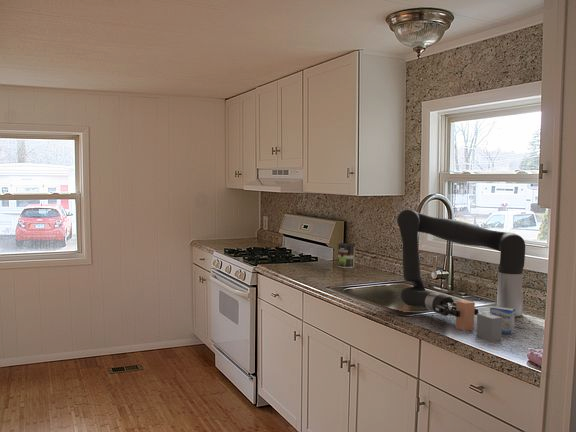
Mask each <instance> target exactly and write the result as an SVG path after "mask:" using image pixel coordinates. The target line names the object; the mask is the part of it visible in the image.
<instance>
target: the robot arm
mask: <svg viewBox="0 0 576 432" xmlns="http://www.w3.org/2000/svg"><path fill="white" fill-rule="evenodd" d="M396 222H397V226H398V228H399V232H400V235H401V243H402V271H403V279H404V280H405V281H406V282H409V283H411V284H412V286H410V287H405V288H403V289H402V290H401V292H400V299H401V301H402V302H403V303H404V304H405V305H407V306H411V307H417V308H418V307H420V308H423V309H426V310H429V311H431V312H433V313H436V314H438V315H441V316H444V317H447V316H452V317H455V318H456V317H460V311H458V310H456V305H457V301H454V299H453V298H452V297H451V296H449V295H445V294H441V293H438V292H434V291H433V292H432V291H429V290H426V288H425V284H424V281H423V279H422V275H421V261H420V254H419V242H418V241H419V240H418V239H419V233H421V234H422V233H423V234H427V235H431V236H434V237H436V238H439V239H442V240H445V241H448V242H451V243H454V244H459V245H465V246H474V247H485V248H488V249H491V250H494V251H498V252H500V256H499V259H500V260H499V264H498V270H497V271H498V273H497V292H496V293H497V294H496V297H497V298H496V306H498V307H505V308H512V309H515V317H520V316H522V315H523V311H524V310H523V309H524V291H523V275H524V274H523V272H524V267H525V261H526V259H525V258H526V242H525V240H524V238H523V237H522V236H520V235H519V234H517V233H515V232H508V231H498V230H492V229H489V228H486V227H485V228H484V227H483V226H482V227H481V226H480V225H476V224H472V223H469V222H465V221H462V220H457V219H452V218H451V219H450V218H445V217H444V218H443V217H433V216H431V215H426V214H424V213H423V214H422V213H420V212H418V211H415V210H414V209H404V210H402V211H400V212H399V214H398V215H397V219H396ZM477 314H479V309H478V308H476V307H475V311H474V316H477Z"/></svg>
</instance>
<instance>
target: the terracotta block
mask: <svg viewBox="0 0 576 432" xmlns="http://www.w3.org/2000/svg"><path fill="white" fill-rule="evenodd" d="M456 302H457V305H456V310H458V311H460V317H456V316H455V328H456V329H458V330H462V331H471V330H475V315H474V311H475V308H476V304H475V303H476V302H475V301H471V300H469V299H462V300H456Z"/></svg>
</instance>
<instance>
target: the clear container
mask: <svg viewBox="0 0 576 432" xmlns="http://www.w3.org/2000/svg"><path fill="white" fill-rule="evenodd" d="M337 245H338V246H337V247H338V248H337V250H338V251H337V252H338V253H337V254H338V255H337V268H340V269H354V268H355V255H356V253H355V251H356V247H355V246H356V244H354V243H345V242H339V243H337Z"/></svg>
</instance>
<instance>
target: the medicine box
mask: <svg viewBox="0 0 576 432" xmlns="http://www.w3.org/2000/svg"><path fill="white" fill-rule="evenodd" d="M489 314H493V315H496V316H499V317H502V334H507V335H512V334H514V332H515V322H516V321H515V319H516V318H515V309H512V308H505V307H498V306H497V305H492V306H491V307H489Z"/></svg>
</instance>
